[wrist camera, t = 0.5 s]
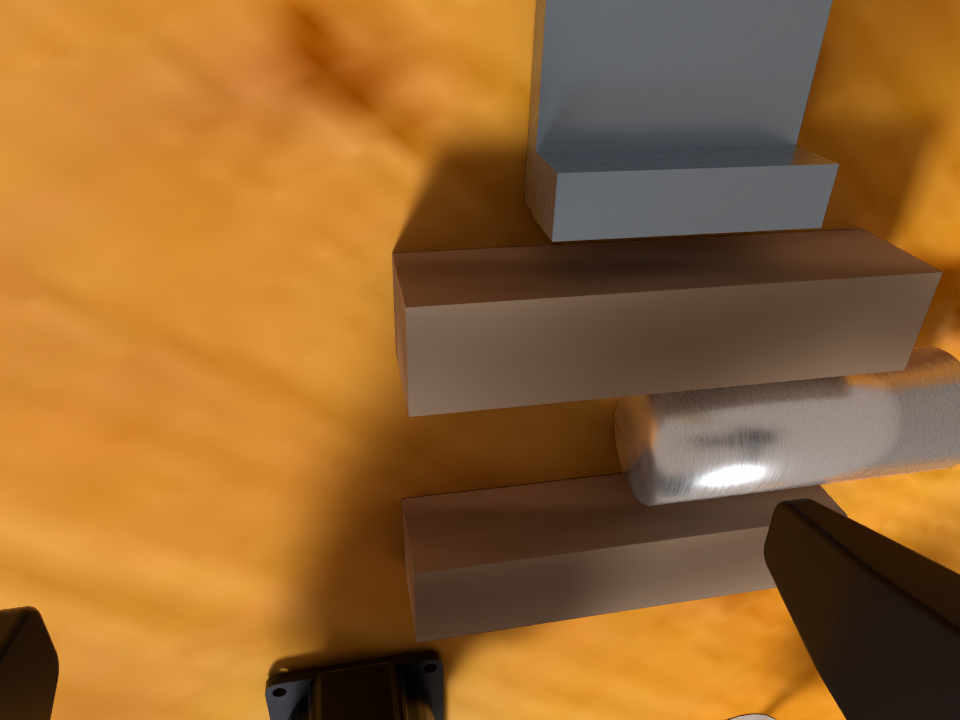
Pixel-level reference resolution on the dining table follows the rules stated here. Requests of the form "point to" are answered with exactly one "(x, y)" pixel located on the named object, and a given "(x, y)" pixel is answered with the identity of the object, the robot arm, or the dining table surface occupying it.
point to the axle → (791, 432)
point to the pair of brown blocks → (619, 373)
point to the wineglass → (753, 717)
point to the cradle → (674, 118)
